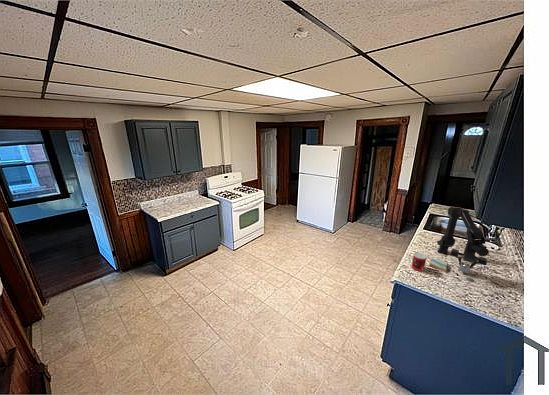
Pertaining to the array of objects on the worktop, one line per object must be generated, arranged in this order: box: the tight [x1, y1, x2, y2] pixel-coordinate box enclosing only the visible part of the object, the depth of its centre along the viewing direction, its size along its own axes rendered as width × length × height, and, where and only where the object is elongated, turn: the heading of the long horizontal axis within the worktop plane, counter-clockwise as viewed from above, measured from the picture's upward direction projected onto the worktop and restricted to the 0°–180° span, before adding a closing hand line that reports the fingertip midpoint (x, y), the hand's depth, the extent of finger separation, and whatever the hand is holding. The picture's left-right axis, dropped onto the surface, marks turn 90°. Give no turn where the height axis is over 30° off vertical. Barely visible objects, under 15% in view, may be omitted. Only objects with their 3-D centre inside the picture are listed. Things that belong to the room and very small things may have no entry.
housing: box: [458, 261, 471, 274], centre depth 153 cm, size 7×5×4 cm
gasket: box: [465, 276, 475, 283], centre depth 147 cm, size 4×4×1 cm
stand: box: [428, 257, 449, 273], centre depth 161 cm, size 10×10×2 cm
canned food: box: [411, 251, 428, 272], centre depth 157 cm, size 8×8×11 cm
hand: (464, 266), depth 153 cm, fingers closed on housing, 5 cm apart
